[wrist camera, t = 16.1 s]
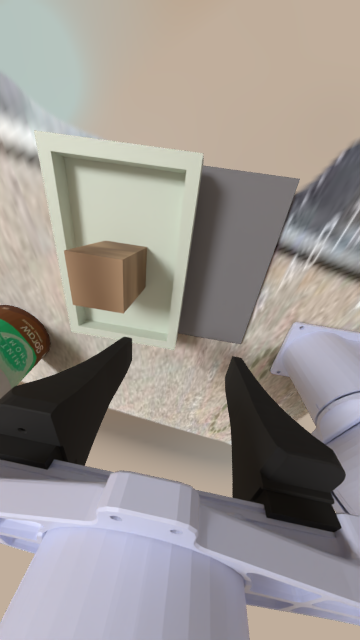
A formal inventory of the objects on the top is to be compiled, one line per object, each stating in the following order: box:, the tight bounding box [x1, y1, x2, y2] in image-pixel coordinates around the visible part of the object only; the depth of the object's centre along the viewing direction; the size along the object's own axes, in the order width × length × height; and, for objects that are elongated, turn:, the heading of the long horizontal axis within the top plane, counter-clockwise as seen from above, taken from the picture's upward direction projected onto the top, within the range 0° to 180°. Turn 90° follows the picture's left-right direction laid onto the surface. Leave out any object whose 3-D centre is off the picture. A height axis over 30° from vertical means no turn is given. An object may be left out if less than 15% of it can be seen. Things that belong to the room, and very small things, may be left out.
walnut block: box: [64, 241, 147, 314], centre depth 16 cm, size 4×4×6 cm
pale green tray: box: [34, 131, 203, 350], centre depth 19 cm, size 12×17×4 cm
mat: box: [178, 166, 300, 344], centre depth 20 cm, size 22×17×1 cm
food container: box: [0, 305, 51, 398], centre depth 23 cm, size 12×6×10 cm, turn 23°
